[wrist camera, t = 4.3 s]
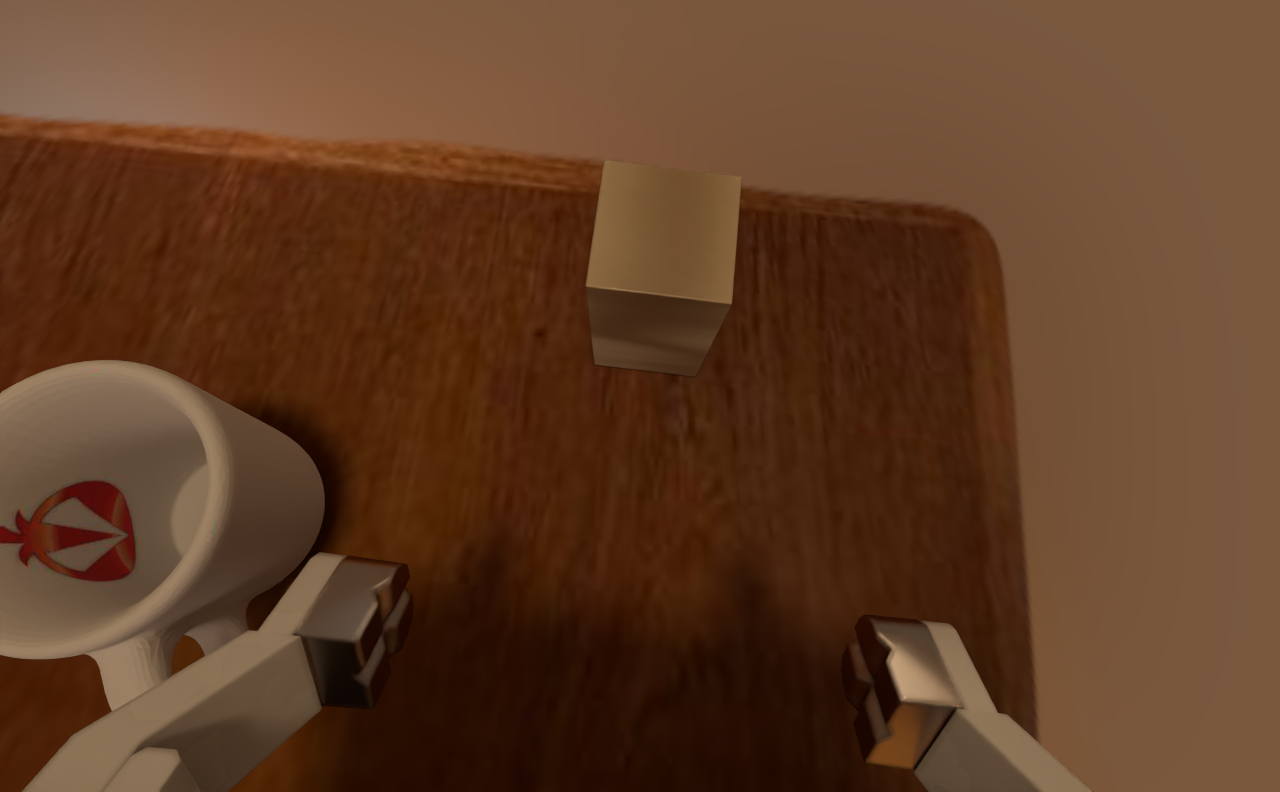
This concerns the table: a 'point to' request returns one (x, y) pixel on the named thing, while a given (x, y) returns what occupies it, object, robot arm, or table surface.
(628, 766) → the table surface
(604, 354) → the plain beige block
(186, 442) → the cup
